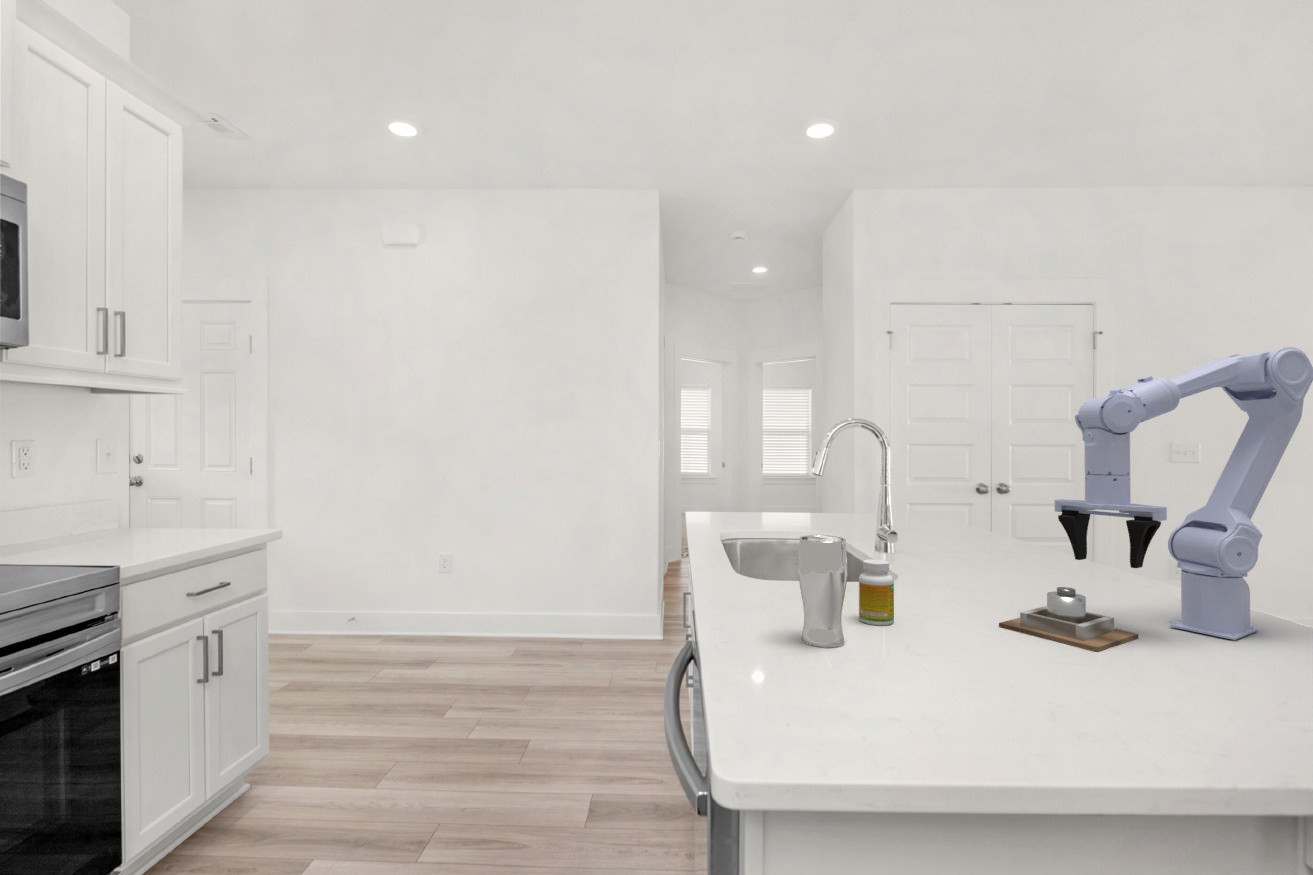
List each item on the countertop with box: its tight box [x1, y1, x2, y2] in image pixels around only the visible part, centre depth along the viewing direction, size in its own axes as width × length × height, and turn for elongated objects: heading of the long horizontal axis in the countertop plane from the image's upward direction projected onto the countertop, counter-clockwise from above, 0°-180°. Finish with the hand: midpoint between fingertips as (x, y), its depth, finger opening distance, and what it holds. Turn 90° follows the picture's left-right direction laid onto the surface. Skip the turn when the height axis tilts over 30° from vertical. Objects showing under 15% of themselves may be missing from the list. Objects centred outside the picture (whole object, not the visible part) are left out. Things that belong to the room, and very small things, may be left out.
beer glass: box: [797, 534, 848, 648], centre depth 93 cm, size 7×7×15 cm
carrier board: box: [998, 605, 1139, 652], centre depth 97 cm, size 12×14×3 cm
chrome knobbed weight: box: [1046, 586, 1087, 624], centre depth 97 cm, size 5×5×6 cm
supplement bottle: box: [858, 558, 895, 626], centre depth 104 cm, size 5×5×10 cm
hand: (1107, 563), depth 98 cm, fingers open, 7 cm apart
